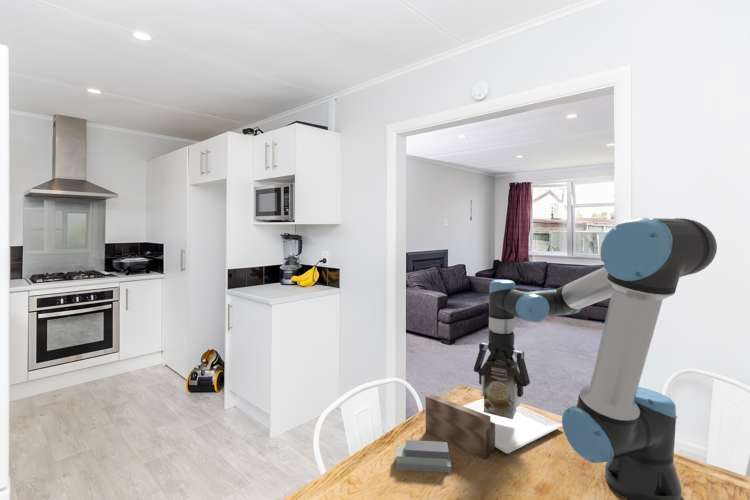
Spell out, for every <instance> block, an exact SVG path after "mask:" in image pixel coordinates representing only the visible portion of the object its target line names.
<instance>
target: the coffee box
mask: <svg viewBox="0 0 750 500" xmlns="http://www.w3.org/2000/svg"><path fill="white" fill-rule="evenodd" d="M484 363H485V383H484V397H483V398H484V411H483V412H484V413H488V414H492V415H496V416H500V417H505V418H509V419H513V418H514V415H515V413H516V408H515V407H514V386H515V385H516V382H515V380H514V378H515V370H516V367H517V369H519V368H518V364H517V361H515V360H514V363H515V365H514V366H512V367H511V366H508V365H506V364H505V362H503V361H500V360H495V359H494V360H492V361H490V360H487V359H486V360H485V362H484Z"/></svg>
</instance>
